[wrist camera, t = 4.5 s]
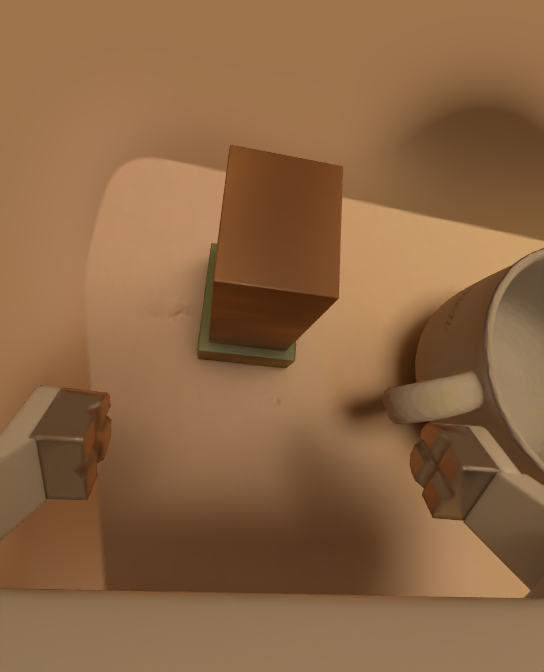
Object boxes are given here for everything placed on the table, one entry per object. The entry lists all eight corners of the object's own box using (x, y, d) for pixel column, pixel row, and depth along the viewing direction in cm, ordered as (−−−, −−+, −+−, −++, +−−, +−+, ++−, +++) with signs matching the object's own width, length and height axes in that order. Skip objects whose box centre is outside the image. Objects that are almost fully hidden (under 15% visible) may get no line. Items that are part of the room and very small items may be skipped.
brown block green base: (197, 358, 21) (194, 294, 11) (210, 258, 22) (216, 128, 13) (287, 368, 22) (354, 315, 12) (293, 270, 23) (357, 156, 14)
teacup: (532, 305, 26) (672, 250, 18) (566, 476, 23) (748, 496, 15) (334, 297, 23) (399, 229, 16) (347, 487, 21) (432, 518, 13)
